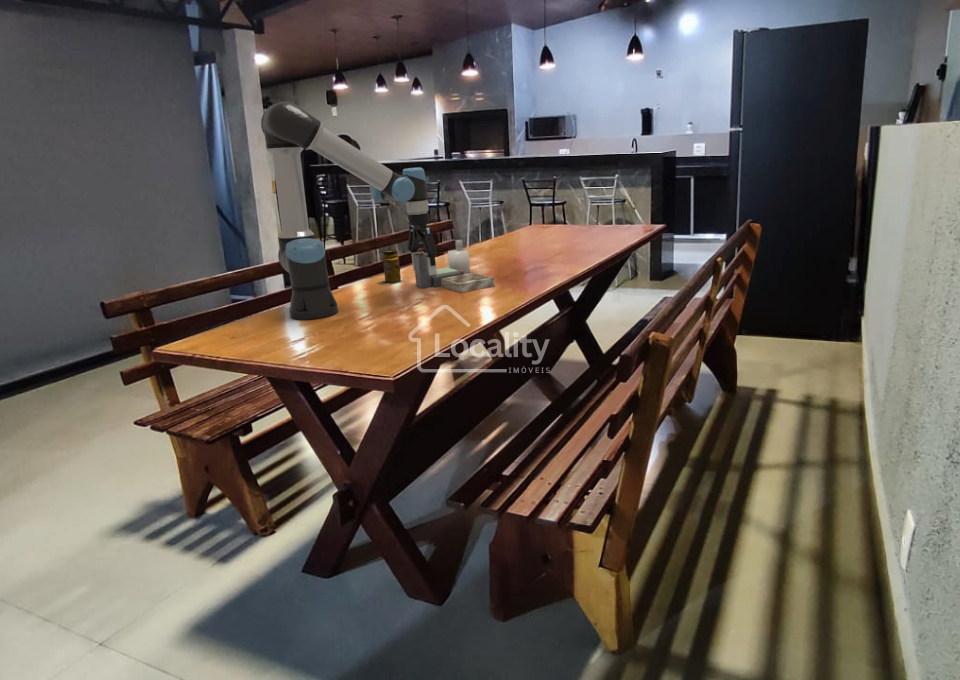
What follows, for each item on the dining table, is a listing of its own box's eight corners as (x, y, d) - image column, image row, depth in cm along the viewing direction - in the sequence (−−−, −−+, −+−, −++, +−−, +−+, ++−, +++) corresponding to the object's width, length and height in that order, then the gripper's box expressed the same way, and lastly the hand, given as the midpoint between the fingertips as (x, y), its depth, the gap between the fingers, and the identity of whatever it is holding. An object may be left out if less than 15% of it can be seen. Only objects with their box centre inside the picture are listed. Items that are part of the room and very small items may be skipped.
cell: (421, 288, 241) (418, 253, 237) (416, 286, 244) (412, 252, 241) (432, 286, 243) (429, 251, 239) (427, 284, 246) (424, 250, 243)
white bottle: (455, 276, 257) (452, 243, 253) (446, 274, 263) (443, 241, 260) (473, 273, 260) (471, 240, 257) (464, 271, 267) (461, 238, 263)
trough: (459, 292, 229) (458, 284, 228) (441, 286, 241) (440, 278, 240) (494, 286, 236) (494, 277, 235) (475, 280, 248) (474, 272, 247)
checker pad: (436, 278, 242) (436, 274, 242) (425, 275, 250) (425, 271, 249) (458, 274, 246) (458, 270, 246) (447, 271, 254) (447, 267, 253)
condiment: (405, 281, 256) (402, 250, 253) (388, 285, 251) (384, 253, 247) (394, 279, 261) (391, 248, 258) (376, 283, 256) (372, 252, 252)
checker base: (435, 287, 241) (434, 275, 240) (421, 282, 251) (419, 271, 250) (465, 281, 246) (464, 270, 245) (449, 277, 257) (448, 266, 256)
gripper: (443, 213, 227) (449, 275, 233) (413, 209, 248) (419, 266, 254) (423, 216, 224) (430, 278, 230) (394, 212, 245) (401, 269, 251)
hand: (424, 272), depth 242 cm, fingers open, 13 cm apart
